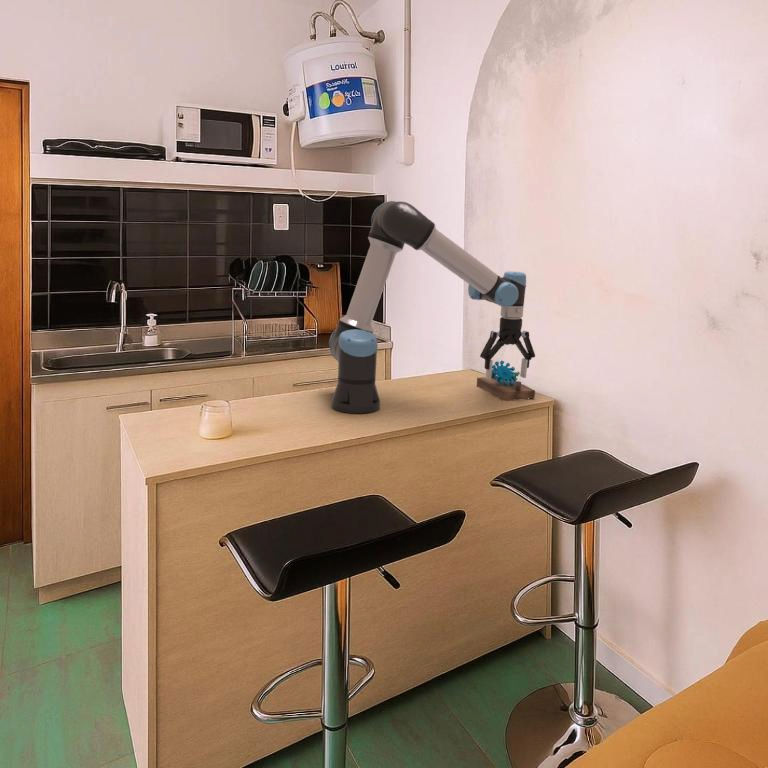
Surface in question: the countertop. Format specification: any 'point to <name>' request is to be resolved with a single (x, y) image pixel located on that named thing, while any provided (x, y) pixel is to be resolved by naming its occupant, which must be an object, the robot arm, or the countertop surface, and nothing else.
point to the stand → (505, 389)
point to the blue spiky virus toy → (504, 373)
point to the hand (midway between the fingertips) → (505, 377)
